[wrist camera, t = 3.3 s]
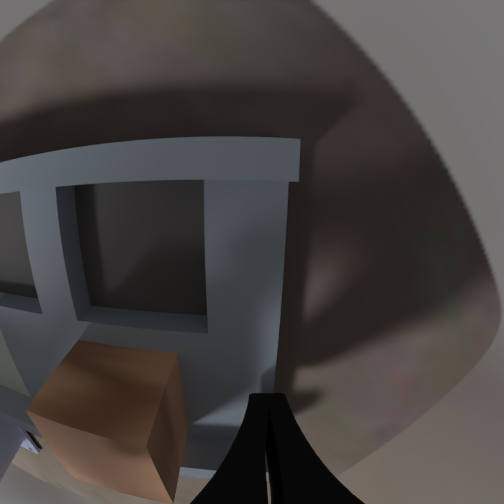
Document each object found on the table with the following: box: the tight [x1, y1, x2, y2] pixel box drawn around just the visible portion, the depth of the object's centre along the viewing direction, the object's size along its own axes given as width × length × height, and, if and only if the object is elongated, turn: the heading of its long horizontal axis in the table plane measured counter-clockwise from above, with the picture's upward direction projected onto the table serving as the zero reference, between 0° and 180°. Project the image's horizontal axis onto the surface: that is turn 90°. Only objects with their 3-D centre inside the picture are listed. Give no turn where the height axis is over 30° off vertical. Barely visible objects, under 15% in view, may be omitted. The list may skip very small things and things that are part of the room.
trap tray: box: [0, 136, 300, 481], centre depth 10 cm, size 22×14×4 cm, turn 89°
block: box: [26, 340, 189, 504], centre depth 9 cm, size 4×4×4 cm
